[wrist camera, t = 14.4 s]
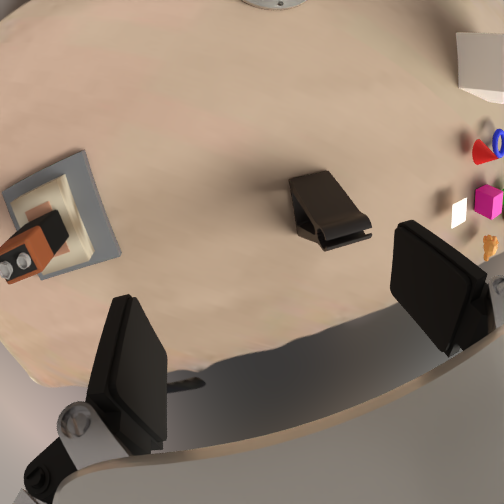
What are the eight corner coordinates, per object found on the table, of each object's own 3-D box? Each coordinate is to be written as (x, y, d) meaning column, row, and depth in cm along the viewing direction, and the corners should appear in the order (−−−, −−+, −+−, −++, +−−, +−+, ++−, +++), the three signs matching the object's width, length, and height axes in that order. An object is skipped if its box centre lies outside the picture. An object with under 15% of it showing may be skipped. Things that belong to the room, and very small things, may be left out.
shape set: (509, 222, 56) (527, 232, 50) (440, 273, 53) (462, 289, 47) (513, 120, 42) (535, 126, 35) (442, 137, 38) (474, 146, 32)
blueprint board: (5, 189, 31) (1, 192, 30) (84, 149, 32) (81, 151, 31) (43, 276, 39) (41, 280, 38) (121, 252, 40) (120, 256, 39)
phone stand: (288, 178, 39) (322, 206, 29) (327, 170, 40) (371, 194, 29) (297, 234, 44) (328, 277, 33) (332, 225, 44) (371, 263, 34)
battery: (24, 224, 30) (-14, 259, 21) (58, 207, 30) (21, 241, 22) (36, 250, 32) (4, 290, 24) (71, 236, 33) (40, 277, 24)
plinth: (20, 195, 31) (9, 203, 28) (65, 174, 32) (55, 180, 29) (50, 265, 37) (42, 276, 34) (94, 250, 37) (88, 261, 35)
